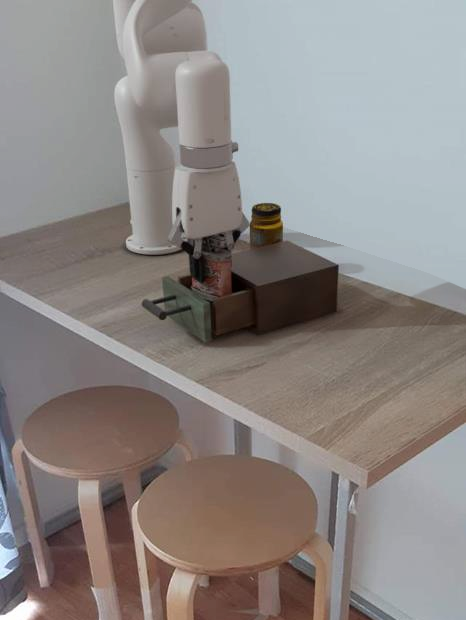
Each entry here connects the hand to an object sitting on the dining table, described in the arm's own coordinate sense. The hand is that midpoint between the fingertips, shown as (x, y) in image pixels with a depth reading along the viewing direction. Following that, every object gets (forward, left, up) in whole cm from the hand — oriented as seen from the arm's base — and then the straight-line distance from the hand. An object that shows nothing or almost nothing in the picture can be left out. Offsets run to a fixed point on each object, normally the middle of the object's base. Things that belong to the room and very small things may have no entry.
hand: (211, 275), depth 130 cm
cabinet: (0, +12, -8) cm, 14 cm away
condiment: (-15, +19, -9) cm, 26 cm away
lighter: (0, 0, -3) cm, 3 cm away
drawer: (0, -1, -7) cm, 7 cm away
